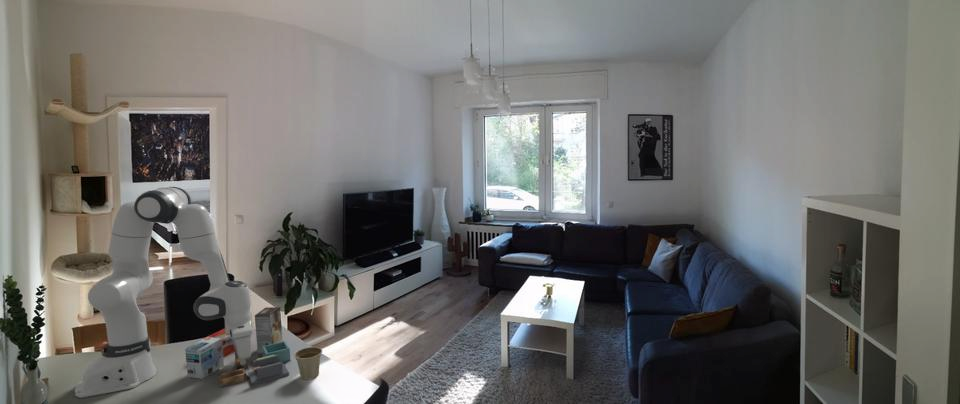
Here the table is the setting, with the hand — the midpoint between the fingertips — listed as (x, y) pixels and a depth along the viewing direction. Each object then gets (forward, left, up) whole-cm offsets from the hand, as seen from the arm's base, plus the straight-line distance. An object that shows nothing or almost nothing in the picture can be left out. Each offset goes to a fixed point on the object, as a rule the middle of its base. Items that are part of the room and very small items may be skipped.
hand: (241, 360), depth 168 cm
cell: (0, 0, -3) cm, 3 cm away
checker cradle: (+7, -11, -3) cm, 13 cm away
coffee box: (+12, +12, -3) cm, 17 cm away
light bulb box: (-11, +6, -3) cm, 13 cm away
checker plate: (+7, -11, -1) cm, 13 cm away
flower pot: (+19, -20, -3) cm, 28 cm away
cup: (+12, 0, -3) cm, 12 cm away
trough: (-4, -8, -3) cm, 9 cm away
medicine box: (-2, +21, -4) cm, 21 cm away
